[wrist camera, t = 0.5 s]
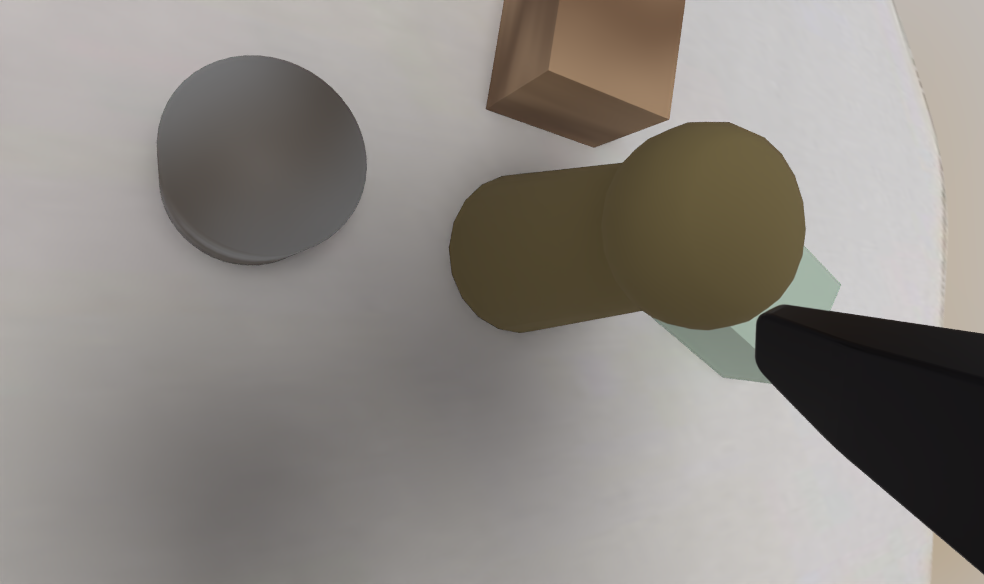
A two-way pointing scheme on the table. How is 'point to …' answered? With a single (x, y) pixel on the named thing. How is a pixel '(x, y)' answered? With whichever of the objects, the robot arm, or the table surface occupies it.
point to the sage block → (736, 344)
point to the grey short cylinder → (258, 160)
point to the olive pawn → (636, 236)
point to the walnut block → (586, 65)
